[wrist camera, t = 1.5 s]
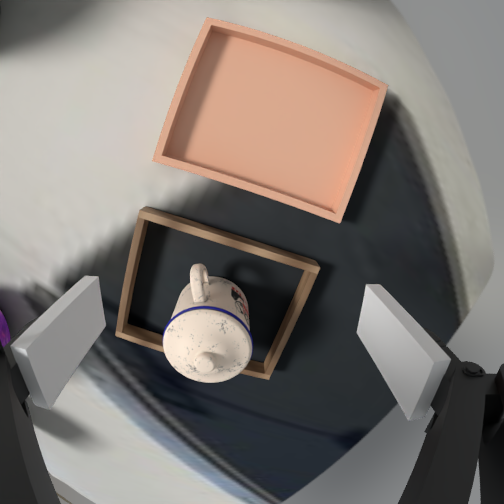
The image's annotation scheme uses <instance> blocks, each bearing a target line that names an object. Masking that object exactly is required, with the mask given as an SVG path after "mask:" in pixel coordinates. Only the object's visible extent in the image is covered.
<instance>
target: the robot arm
mask: <svg viewBox="0 0 504 504" xmlns="http://www.w3.org/2000/svg"><path fill="white" fill-rule="evenodd" d="M105 326H106V323H105V317H104V311H103V305H102V299H101V293H100V286H99V278H98V277H96V276H84V277H83V278H82V279H81V280H80V281H79V282H78V283H76V284H75V285H74V286H73V287H72V288H71V289H70V290H69V291H67V292H66V293H65V294H64V295H63V296H62V297H61V298H60V299H59V300H57V301H56V302H55V303H54V304H53V305H52V306H51V307H50V308H49V309H48V310H47V311H46V312H44V313H43V314H42V315H41V316H40V317H39V318H37V319H35V320H33V321H31V322H29V323H28V324H27V325H26V326H25V327H24V328H23V330H21V331H20V332H19V333H17V335H15V336H14V337H13V338H12V339H11V340H10V341H9V342H8V343H7V344H6V345H5V346H4V347H3V346H2V343H1V340H0V504H61V503H60V501H59V498H58V496H57V494H56V491H55V489H54V487H53V484H52V481H51V479H50V476H49V474H48V471H47V468H46V465H45V463H44V460H43V457H42V454H41V451H40V448H39V444H38V441H37V438H36V434H35V431H34V427H33V424H32V420H31V416H30V412H29V408H28V405H27V403H26V401H25V399H26V398H27V397H28V395H29V394H30V396H31V399H32V401H33V403H34V405H35V406H38V407H42V408H45V409H48V410H50V409H51V407H52V406H53V404H54V402H55V401H56V399H57V398H58V396H59V395H60V393H61V391H62V390H63V388H64V387H65V385H66V384H67V382H68V380H69V379H70V377H71V376H72V374H73V373H74V371H75V370H76V368H77V367H78V365H79V364H80V362H81V361H82V359H83V358H84V356H85V355H86V353H87V352H88V350H89V349H90V348H91V346H92V345H93V343H94V342H95V340H96V339H97V337H98V336H99V335H100V333H101V332H102V330H103V329H104V328H105ZM357 334H358V336H359V337H360V339H361V341H362V342H363V344H364V346H365V347H366V349H367V350H368V352H369V354H370V355H371V357H372V359H373V360H374V362H375V364H376V366H377V367H378V369H379V371H380V372H381V374H382V376H383V377H384V379H385V381H386V382H387V384H388V386H389V388H390V389H391V391H392V393H393V395H394V396H395V398H396V400H397V402H398V403H399V405H400V407H401V409H402V410H403V412H404V414H405V415H406V417H407V419H408V421H410V420H414V419H419V418H423V417H425V416H426V414H427V412H428V410H429V408H430V406H431V407H432V408H433V410H434V411H435V413H434V415H433V417H432V419H431V421H430V423H429V425H428V426H427V428H426V430H425V432H426V433H427V434H426V437H425V440H424V443H423V446H422V449H421V451H420V454H419V456H418V459H417V461H416V464H415V466H414V469H413V471H412V474H411V476H410V478H409V481H408V483H407V485H406V487H405V490H404V492H403V494H402V496H401V498H400V500H399V502H398V504H468V501H469V497H470V493H471V489H472V485H473V481H474V476H475V471H476V466H477V461H478V459H479V474H480V493H481V504H504V364H502V365H501V367H500V369H499V371H498V373H497V374H486V373H485V371H484V369H483V368H482V367H480V366H479V365H477V364H475V363H473V362H467V361H465V362H461V361H460V360H459V359H458V358H457V357H456V355H455V354H453V352H452V351H451V350H450V349H449V348H448V347H446V345H445V344H444V343H443V342H441V339H440V338H439V337H438V336H437V335H436V334H435V333H433V332H431V331H430V330H428V329H426V328H422V327H421V326H420V325H419V324H418V323H417V322H416V321H415V320H414V319H413V318H412V317H411V316H410V314H409V313H408V312H407V311H406V310H405V309H404V308H403V307H402V306H401V305H400V304H399V303H398V302H397V301H396V300H395V299H394V298H393V297H392V296H391V295H390V294H389V293H388V292H387V291H386V290H385V289H384V288H383V287H382V286H381V285H380V284H366V289H365V294H364V299H363V305H362V310H361V315H360V319H359V324H358V329H357Z"/></svg>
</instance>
